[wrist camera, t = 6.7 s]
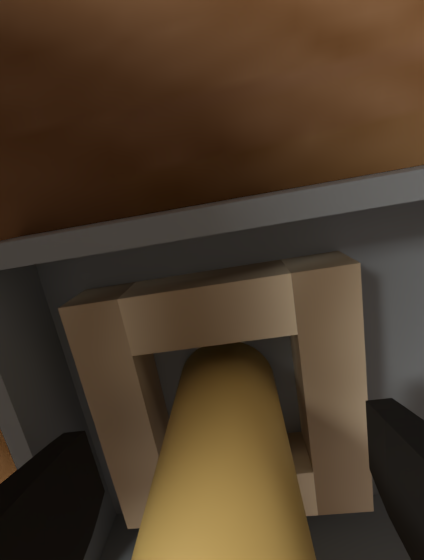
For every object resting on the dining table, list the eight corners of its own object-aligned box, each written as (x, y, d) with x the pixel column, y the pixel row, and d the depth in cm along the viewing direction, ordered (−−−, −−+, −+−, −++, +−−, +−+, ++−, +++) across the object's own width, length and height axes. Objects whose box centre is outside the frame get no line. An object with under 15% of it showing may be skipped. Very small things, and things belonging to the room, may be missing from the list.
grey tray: (548, 142, 9) (718, 116, 6) (516, 483, 12) (616, 585, 9) (18, 236, 10) (-71, 255, 7) (110, 514, 14) (74, 610, 10)
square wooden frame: (338, 250, 9) (360, 262, 8) (353, 465, 12) (373, 511, 10) (85, 289, 10) (57, 308, 9) (141, 484, 12) (128, 528, 11)
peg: (266, 332, 10) (372, 751, 3) (280, 415, 11) (392, 918, 3) (171, 348, 11) (18, 755, 3) (191, 427, 11) (112, 908, 4)
